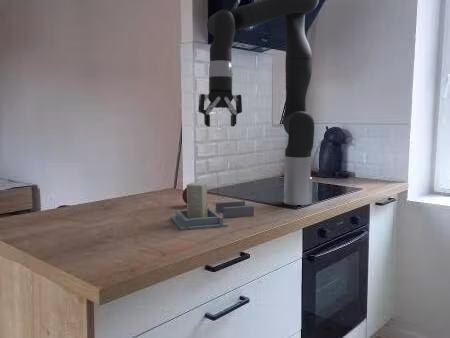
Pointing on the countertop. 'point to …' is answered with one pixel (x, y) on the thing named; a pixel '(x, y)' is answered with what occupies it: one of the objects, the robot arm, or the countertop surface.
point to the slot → (234, 209)
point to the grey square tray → (197, 220)
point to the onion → (185, 195)
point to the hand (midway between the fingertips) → (220, 126)
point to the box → (197, 200)
